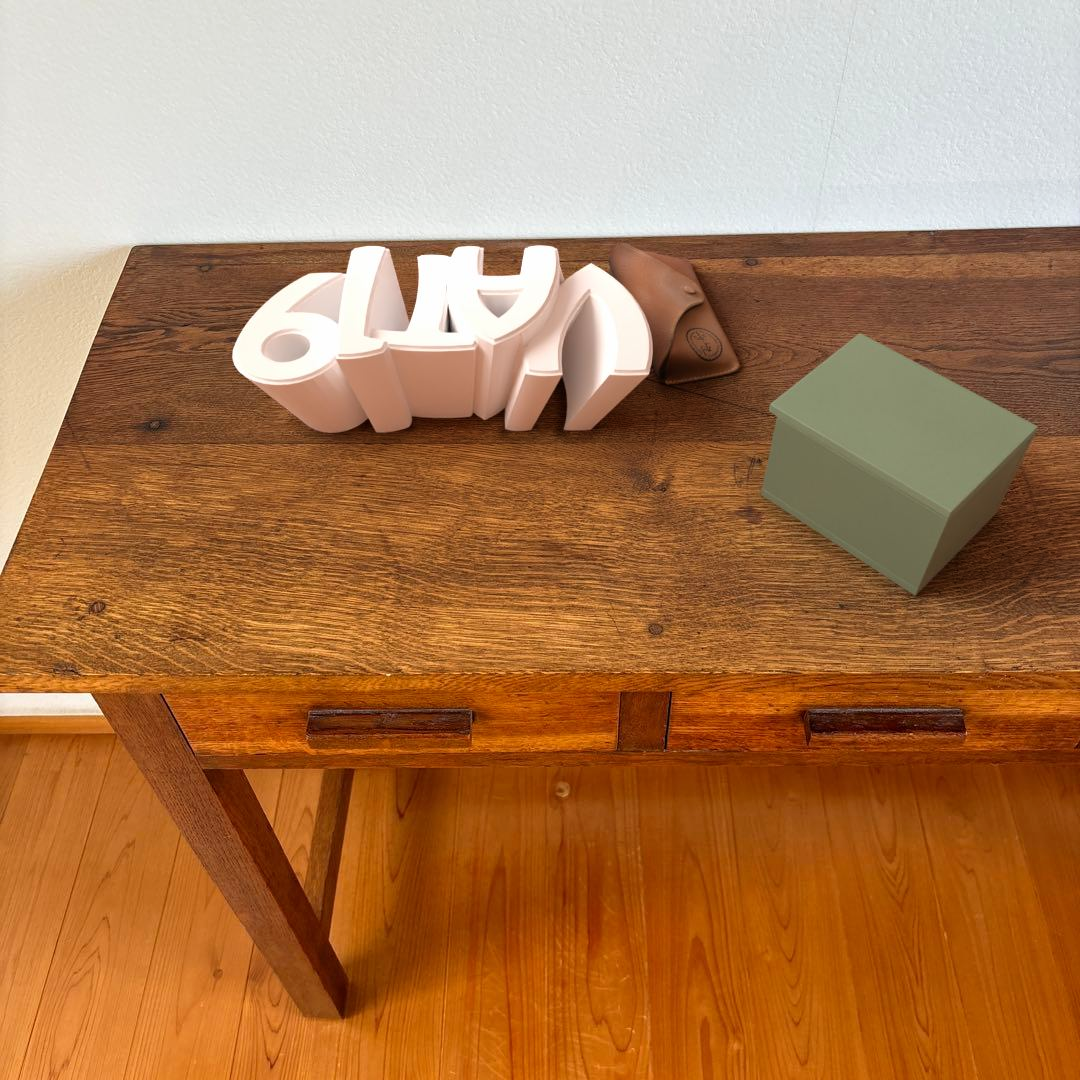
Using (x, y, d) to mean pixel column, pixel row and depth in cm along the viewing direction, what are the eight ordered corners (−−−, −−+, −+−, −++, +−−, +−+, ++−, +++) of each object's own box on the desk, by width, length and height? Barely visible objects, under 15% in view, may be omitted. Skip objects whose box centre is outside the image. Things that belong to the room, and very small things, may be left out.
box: (760, 495, 83) (776, 416, 76) (844, 424, 88) (866, 344, 81) (915, 596, 76) (948, 520, 69) (996, 513, 81) (1034, 434, 74)
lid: (768, 411, 77) (769, 403, 76) (857, 340, 82) (860, 332, 81) (948, 519, 69) (951, 511, 69) (1035, 434, 74) (1038, 426, 74)
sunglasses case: (748, 367, 92) (719, 323, 87) (681, 408, 94) (649, 367, 89) (686, 254, 103) (657, 210, 99) (628, 293, 105) (597, 251, 101)
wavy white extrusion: (648, 337, 96) (655, 241, 88) (646, 463, 86) (653, 367, 78) (287, 328, 99) (261, 233, 90) (242, 449, 88) (208, 354, 80)
